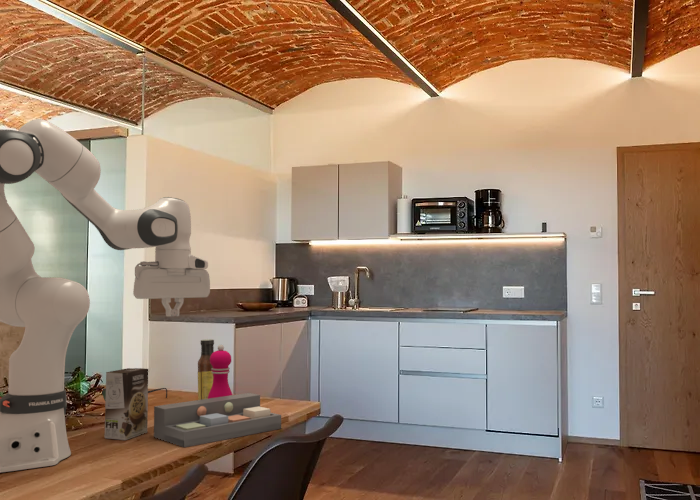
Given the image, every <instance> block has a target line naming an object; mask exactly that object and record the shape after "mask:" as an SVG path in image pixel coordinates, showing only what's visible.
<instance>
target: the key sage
mask: <svg viewBox="0 0 700 500" xmlns="http://www.w3.org/2000/svg"><path fill="white" fill-rule="evenodd" d="M203 427H206V425H202V424H199V423H195V422H193V423H187V424H181V425H176V428H180V429H183V430H192V429H197V428H203Z"/></svg>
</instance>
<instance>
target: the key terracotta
mask: <svg viewBox="0 0 700 500" xmlns="http://www.w3.org/2000/svg"><path fill="white" fill-rule="evenodd" d="M249 419H250V417H246V416H241V415H234V416H228V423H231V422H237V421H243V420H249Z"/></svg>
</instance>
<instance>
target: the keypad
mask: <svg viewBox="0 0 700 500" xmlns="http://www.w3.org/2000/svg"><path fill="white" fill-rule="evenodd" d="M258 406H259V407H261V394H257V393H251V392H247V393H246V392H245V393H239V394H232V395H230V396H223V397H216V398H209V399H202V400H198V399H197V400H190V401H183V402H177V403H176V402H175V403H169V404H168V403H167V404H161V405H155V406H153V438H154V437H155V438H154V439H157V438H158V440H160V439H161V441H163V440H164V442H166V441H167V443H169V442H170V443H169V444H172V443H173V445H175V444H176V446H178V445H179V447H180V448H181V447H182V448H189V447H193V446H198V445H199V446H200V445H204V444H209V443H215V442H219V441H223V440H229V439H236V438H239V437H245V436H250V435H256V434H260V433H265V432H270V431H276V430H281V429H282V414H278V413H275V412H271V411H270V416H266V417H260V418H254V419H249V420H243V421H237V422H231V423H226V424H220V425H214V426H209V427H208V426H206V427H203V428H197V429H192V430H183V429H180V428H176V425H181V424H187V423H193V422H195V423H199V424H200V416H203V415H209V414H215V413H218V414H222V415H226V416H234V415H241V416H243V409H246V408H252V407H258Z"/></svg>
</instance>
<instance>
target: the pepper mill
mask: <svg viewBox="0 0 700 500" xmlns="http://www.w3.org/2000/svg"><path fill="white" fill-rule="evenodd" d="M224 349H225V347H224V344H223V345H222V344H219V345H218V346H217V350H215V351H214V352H213V353H212V354H211V356H210V363H211V365H212V366H213V368H212V373H213V384H212V387H211V390H210V392H209V395H208V399H209V398H216V397H223V396H230V395H233V392H232V389H231V388H230V385H229V384H230V383H229V379H228V378H229V373H230V367H229V366H230V364H231V363H232V355H231V353H230V352H228V351H227V350H224Z"/></svg>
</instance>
